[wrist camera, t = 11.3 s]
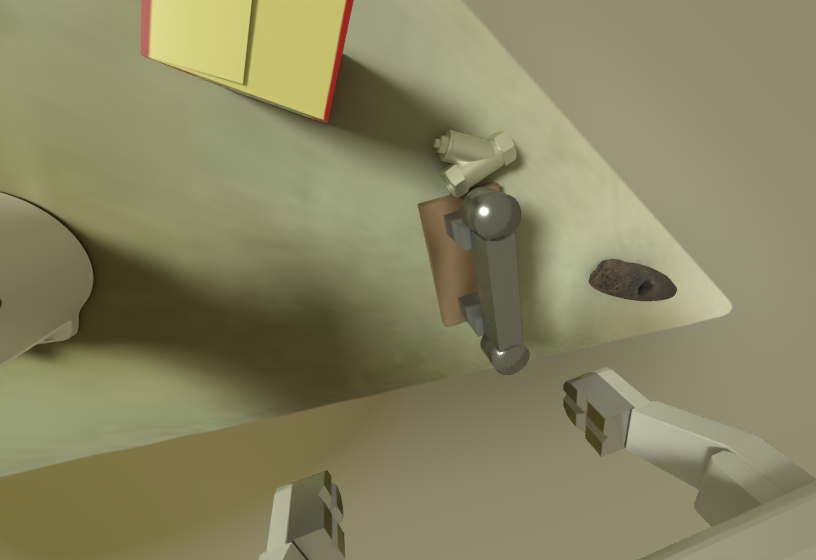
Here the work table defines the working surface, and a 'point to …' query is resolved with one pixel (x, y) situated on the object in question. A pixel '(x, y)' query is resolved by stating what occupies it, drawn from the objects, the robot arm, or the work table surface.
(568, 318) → the work table surface
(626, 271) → the perforated stone tool
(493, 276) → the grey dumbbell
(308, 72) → the baking soda box
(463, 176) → the pipe fitting
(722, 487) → the robot arm
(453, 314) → the peg stand
